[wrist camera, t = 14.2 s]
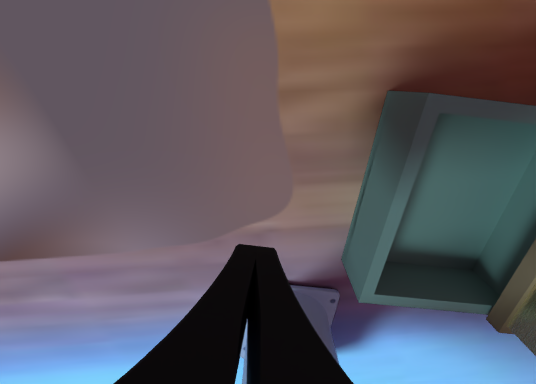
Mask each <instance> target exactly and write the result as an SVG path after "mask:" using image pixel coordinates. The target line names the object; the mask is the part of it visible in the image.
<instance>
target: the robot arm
mask: <svg viewBox="0 0 536 384" xmlns="http://www.w3.org/2000/svg"><path fill="white" fill-rule="evenodd" d="M339 297H340V295H339V292H338V291H337V290H335V289H326V288H315V287H305V286H294V285H290V284H289V282H288V280H287V278H286V275H285V273H284V271H283V268H282V266H281V263H280V261H279V258H278V255H277V252H276V250H275V249H274V248H269V247H260V246H257V247H256V246H252V245H243V244H239V245H237V246H236V247H235V249H234V252H233V253H232V255H231V257H230V259H229V260H228V262H227V264H226V265H225V267H224V268H223V270H222V271H221V273H220V274H219V275H218V277H217V278H216V279H215V281H214V282H213V284H212V285H211V286H210V288H209V289H208V290H207V291H206V292H205V294H204V295H203V296H202V297H201V299H200V300H199V301H198V302H197V303H196V305H195V306H194V307H193V308H192V309H191V310H190V311H189V313H188V314H187V315H186V316H185V317H184V318H183V319H182V320H181V321H180V322H179V323H178V324H177V325H176V326H175V328H174V329H173V330H172V331H171V332H170V333H169V334H168V335H167V336H166V337H165V338H164V339H163V340H162V341H160V342H159V343H158V344H157V345H156V346H155V347H154V348H153V349H152V350H151V351H150V352H149V353H148V354H147V355H146V356H145V357H144V358H143V359H141V360H140V361H139V362H138V363H137V364H136V365H135V366H134V367H133V368H131V369H130V370H129V371H128V372H127V373H126V374H125V375H123V376H122V377H121V378H120V379H119V380H117V381H116V382H115V383H114V384H235V379H236V374H237V369H238V364H239V359H240V356H241V357H242V358H244V367H243V377H242V384H353V382H352V381H351V380H350V379H349V377H348V376H347V375H346V373H345V372H344V371H343V369H342V368H341V367H340V365H339V362H338V358H337V354H336V350H335V345H334V341H333V337H332V333H331V329H330V328H331V325H332V321H333V318H334V314H335V311H336V308H337V304H338V301H339ZM331 299H333V300H331Z"/></svg>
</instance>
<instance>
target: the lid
mask: <svg viewBox="0 0 536 384" xmlns="http://www.w3.org/2000/svg"><path fill="white" fill-rule="evenodd" d="M486 320H487V321H488V322H489V323H490V324H491V325H492V326H493V327H494V328H495V329H496V331H497V332H498V333H508V334H515V335H516V336H517V337H518V338H519V339H520V340H521V341H522V342H523V343H524V344H525V345H526V346H527V347H528V348H529V349H530V350H531V351H532V353H533V354H534V355H535V356H536V239H535V241H534V242H533V244H532V245H531V247H530V249H529V250H528V252H527V254H526V255H525V257H524V258H523V260H522V262H521V263H520V265H519V266H518V268H517V270H516V271H515V273H514V275H513V276H512V278H511V279H510V281H509V283H508V284H507V286H506V287H505V289H504V291H503V292H502V294H501V296H500V297H499V299H498V300H497V302H496V304H495V305H494V307H493V308H492V310H491V312H490V313H489V315H488V317H487V318H486Z"/></svg>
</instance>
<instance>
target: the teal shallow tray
mask: <svg viewBox="0 0 536 384" xmlns="http://www.w3.org/2000/svg"><path fill="white" fill-rule="evenodd" d="M535 239H536V106H532V105H524V104H516V103H508V102H500V101H491V100H483V99H475V98H467V97H459V96H451V95H442V94H434V93H422V92H403V91H388V92H387V96H386V99H385V103H384V106H383V110H382V114H381V117H380V121H379V125H378V128H377V132H376V135H375V139H374V143H373V146H372V150H371V154H370V157H369V161H368V164H367V168H366V172H365V175H364V179H363V183H362V186H361V190H360V194H359V197H358V201H357V204H356V208H355V212H354V215H353V219H352V223H351V226H350V230H349V233H348V237H347V241H346V244H345V248H344V252H343V255H342V259H341V260H342V262H343V265H344V267H345V270H346V272H347V275H348V277H349V279H350V282H351V284H352V287H353V289H354V292H355V294H356V297H357V299H358V302H359V303H370V304H381V305H391V306H402V307H413V308H423V309H434V310H444V311H455V312H466V313H476V314H487V315H489V313H490V312H491V310H492V308H493V307H494V305H495V304H496V302H497V300H498V299H499V297H500V296H501V294H502V292H503V291H504V289H505V287H506V286H507V284H508V283H509V281H510V279H511V278H512V276H513V275H514V273H515V271H516V270H517V268H518V266H519V265H520V263H521V262H522V260H523V258H524V257H525V255H526V254H527V252H528V250H529V249H530V247H531V245H532V244H533V242H534V241H535Z"/></svg>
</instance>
